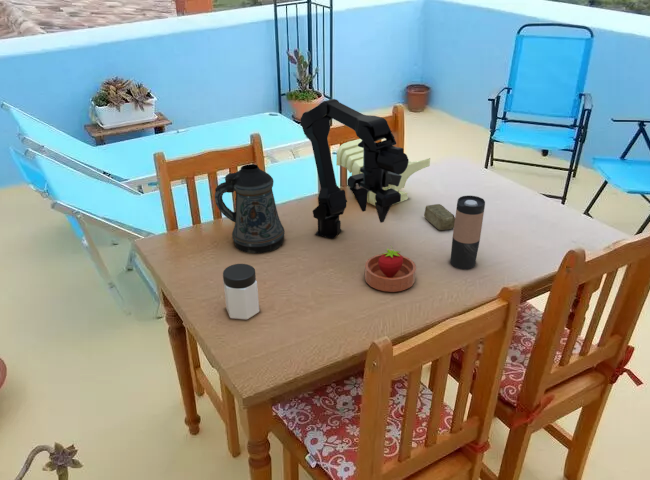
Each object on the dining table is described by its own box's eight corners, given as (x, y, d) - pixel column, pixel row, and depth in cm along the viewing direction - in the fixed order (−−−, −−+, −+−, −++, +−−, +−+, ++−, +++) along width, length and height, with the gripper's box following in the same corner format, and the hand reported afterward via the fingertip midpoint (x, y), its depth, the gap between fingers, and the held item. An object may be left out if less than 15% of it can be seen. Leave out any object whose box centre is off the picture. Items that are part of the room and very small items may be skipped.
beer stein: (295, 242, 184) (292, 167, 171) (243, 263, 174) (236, 184, 161) (265, 224, 195) (260, 152, 182) (214, 242, 185) (205, 168, 172)
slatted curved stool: (336, 191, 217) (336, 145, 208) (368, 181, 226) (369, 136, 216) (393, 219, 197) (396, 169, 188) (425, 206, 205) (430, 157, 196)
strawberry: (372, 277, 165) (374, 246, 160) (393, 269, 168) (395, 239, 163) (385, 286, 161) (387, 255, 155) (406, 278, 164) (409, 247, 159)
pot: (356, 286, 162) (357, 271, 160) (375, 263, 173) (376, 249, 170) (404, 298, 157) (405, 283, 154) (421, 273, 167) (422, 259, 165)
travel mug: (477, 258, 174) (486, 197, 163) (474, 271, 168) (484, 208, 157) (451, 255, 176) (459, 193, 165) (447, 267, 170) (455, 204, 159)
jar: (244, 297, 158) (240, 259, 152) (265, 308, 154) (263, 269, 147) (219, 312, 152) (214, 273, 146) (241, 324, 148) (237, 284, 142)
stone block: (439, 232, 189) (441, 218, 186) (422, 218, 198) (423, 204, 195) (455, 229, 190) (457, 215, 188) (437, 215, 199) (439, 201, 197)
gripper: (418, 168, 158) (415, 221, 166) (378, 150, 172) (377, 199, 180) (384, 177, 153) (382, 231, 161) (346, 157, 167) (346, 208, 175)
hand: (372, 216), depth 169 cm, fingers open, 9 cm apart
